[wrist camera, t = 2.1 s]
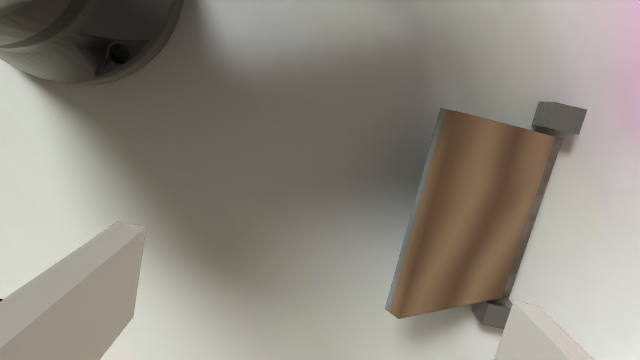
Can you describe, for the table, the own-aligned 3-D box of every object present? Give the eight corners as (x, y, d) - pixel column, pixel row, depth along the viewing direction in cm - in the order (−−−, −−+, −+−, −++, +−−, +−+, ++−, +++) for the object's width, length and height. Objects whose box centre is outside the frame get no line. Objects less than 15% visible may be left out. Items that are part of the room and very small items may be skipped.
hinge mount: (472, 310, 36) (482, 324, 34) (539, 101, 33) (555, 102, 31) (499, 316, 36) (511, 330, 34) (569, 108, 33) (587, 109, 31)
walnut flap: (382, 307, 28) (400, 320, 27) (438, 107, 25) (460, 112, 24) (495, 287, 36) (512, 297, 35) (545, 134, 34) (566, 139, 32)
